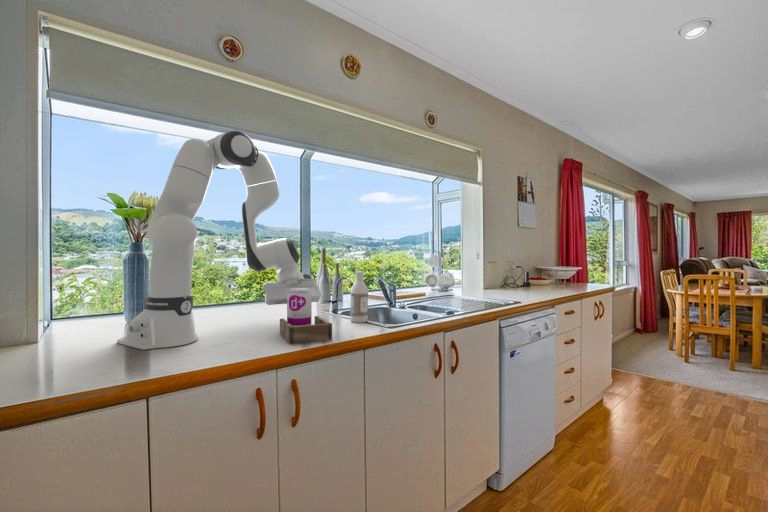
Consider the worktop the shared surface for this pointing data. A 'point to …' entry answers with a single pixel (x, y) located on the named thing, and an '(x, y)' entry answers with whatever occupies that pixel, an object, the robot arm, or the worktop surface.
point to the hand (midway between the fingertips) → (296, 311)
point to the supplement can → (299, 306)
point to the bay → (306, 331)
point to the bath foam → (359, 300)
